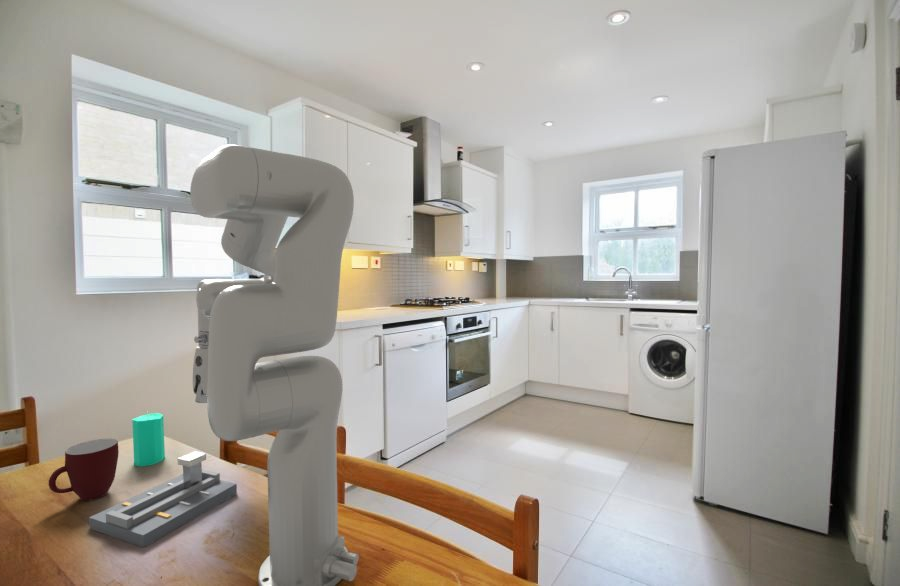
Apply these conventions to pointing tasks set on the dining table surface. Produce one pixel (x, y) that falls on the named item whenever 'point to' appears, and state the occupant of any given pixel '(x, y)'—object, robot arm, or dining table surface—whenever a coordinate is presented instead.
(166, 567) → the dining table surface
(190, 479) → the fader tab
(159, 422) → the candle
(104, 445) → the mug
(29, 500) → the dining table surface
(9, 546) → the dining table surface
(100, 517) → the console
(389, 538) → the dining table surface
